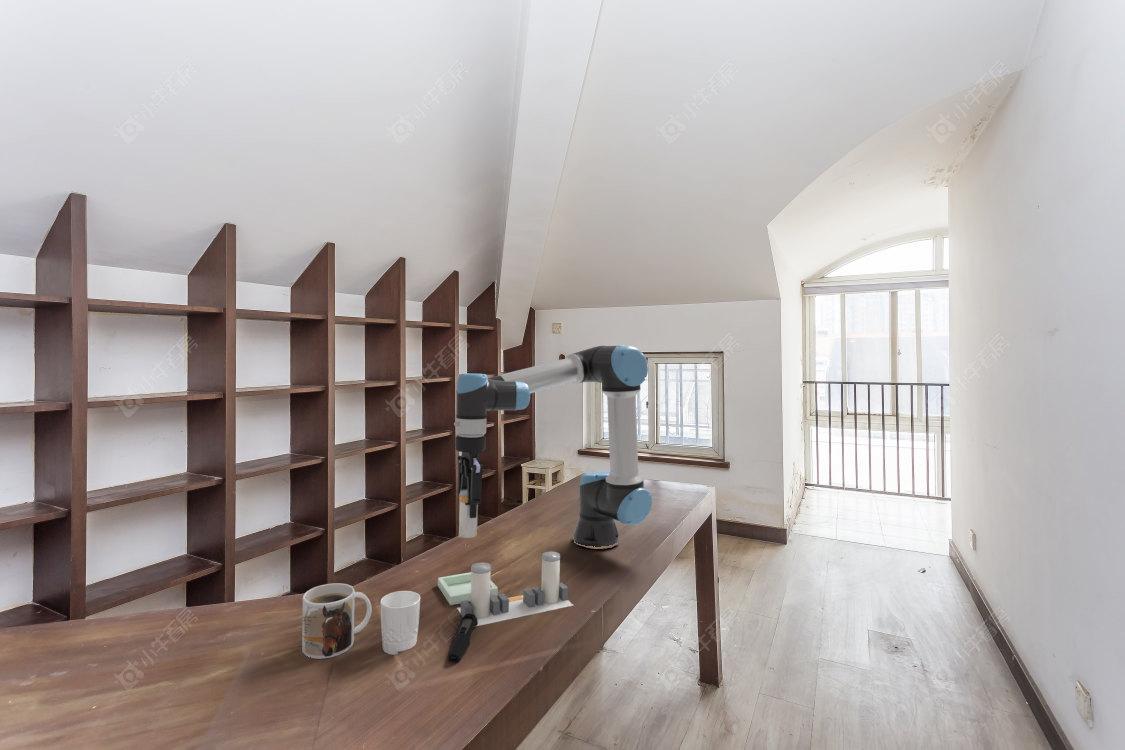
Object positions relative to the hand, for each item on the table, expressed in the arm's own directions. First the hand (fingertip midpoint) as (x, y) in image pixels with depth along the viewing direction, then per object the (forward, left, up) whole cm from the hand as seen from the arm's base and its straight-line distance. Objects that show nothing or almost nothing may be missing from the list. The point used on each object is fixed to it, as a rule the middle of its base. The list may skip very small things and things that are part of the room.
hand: (468, 526), depth 136 cm
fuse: (+1, +13, -16) cm, 21 cm away
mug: (+32, +12, -17) cm, 38 cm away
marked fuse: (0, 0, -2) cm, 2 cm away
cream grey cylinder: (-17, +13, -16) cm, 27 cm away
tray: (0, 0, -17) cm, 17 cm away
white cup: (+20, +18, -17) cm, 32 cm away
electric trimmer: (+8, +23, -17) cm, 30 cm away
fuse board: (-8, +13, -17) cm, 23 cm away
